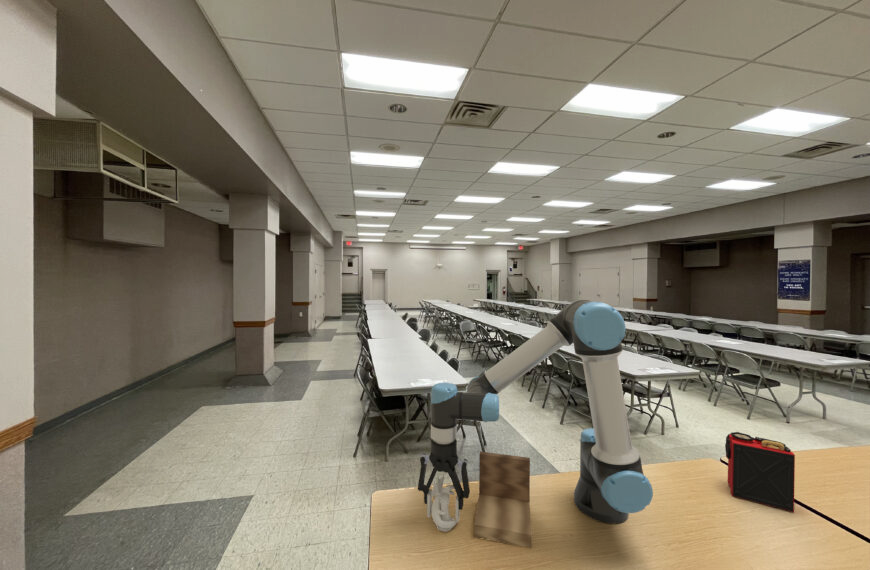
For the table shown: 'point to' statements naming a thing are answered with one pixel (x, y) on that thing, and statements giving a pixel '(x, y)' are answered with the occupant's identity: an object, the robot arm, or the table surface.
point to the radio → (760, 470)
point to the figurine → (442, 505)
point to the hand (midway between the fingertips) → (443, 516)
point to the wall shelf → (504, 499)
